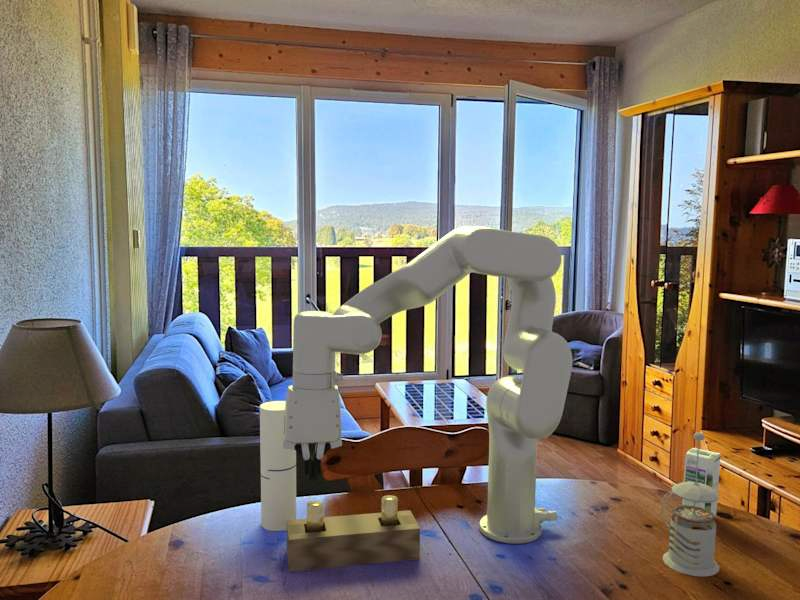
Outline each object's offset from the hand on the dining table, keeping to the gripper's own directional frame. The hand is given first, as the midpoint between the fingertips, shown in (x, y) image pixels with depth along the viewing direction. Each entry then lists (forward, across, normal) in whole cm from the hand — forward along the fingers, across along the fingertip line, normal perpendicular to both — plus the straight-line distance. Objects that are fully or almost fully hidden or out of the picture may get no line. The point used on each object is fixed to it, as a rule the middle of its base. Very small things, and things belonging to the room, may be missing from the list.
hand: (311, 478), depth 125 cm
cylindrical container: (+16, +5, -16) cm, 23 cm away
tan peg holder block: (+15, -8, 0) cm, 17 cm away
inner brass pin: (+11, -15, 0) cm, 18 cm away
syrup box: (+14, -83, -2) cm, 84 cm away
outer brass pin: (+11, -1, 0) cm, 11 cm away
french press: (+14, -69, +14) cm, 72 cm away
